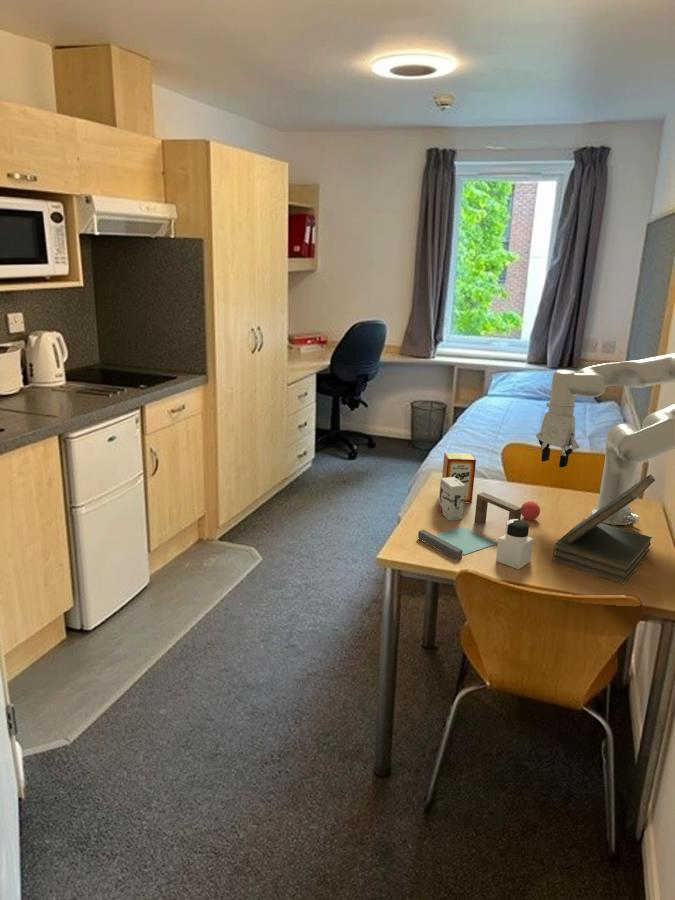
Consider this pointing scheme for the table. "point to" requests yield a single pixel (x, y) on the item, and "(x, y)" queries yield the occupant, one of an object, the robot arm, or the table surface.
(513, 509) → the bridge
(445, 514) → the ink box
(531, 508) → the ball
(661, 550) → the table surface
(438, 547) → the stopper wall
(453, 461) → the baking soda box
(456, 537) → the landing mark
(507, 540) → the medicine bottle
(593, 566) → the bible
